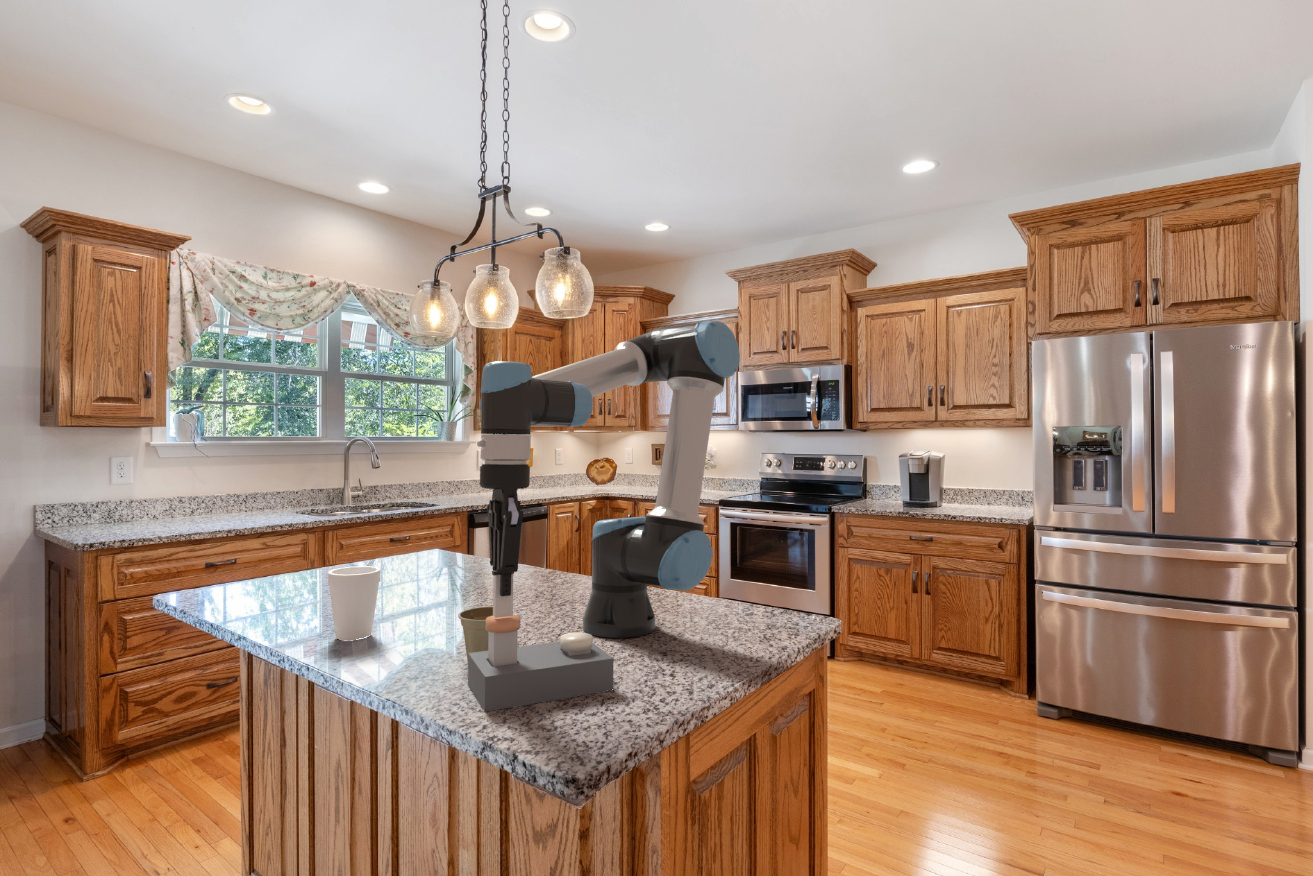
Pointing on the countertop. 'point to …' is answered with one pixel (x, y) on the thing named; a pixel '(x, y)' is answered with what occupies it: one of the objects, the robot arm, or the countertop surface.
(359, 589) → the foam cup
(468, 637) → the flower pot
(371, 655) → the countertop surface
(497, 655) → the terracotta plunger
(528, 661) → the block
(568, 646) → the cream plunger
